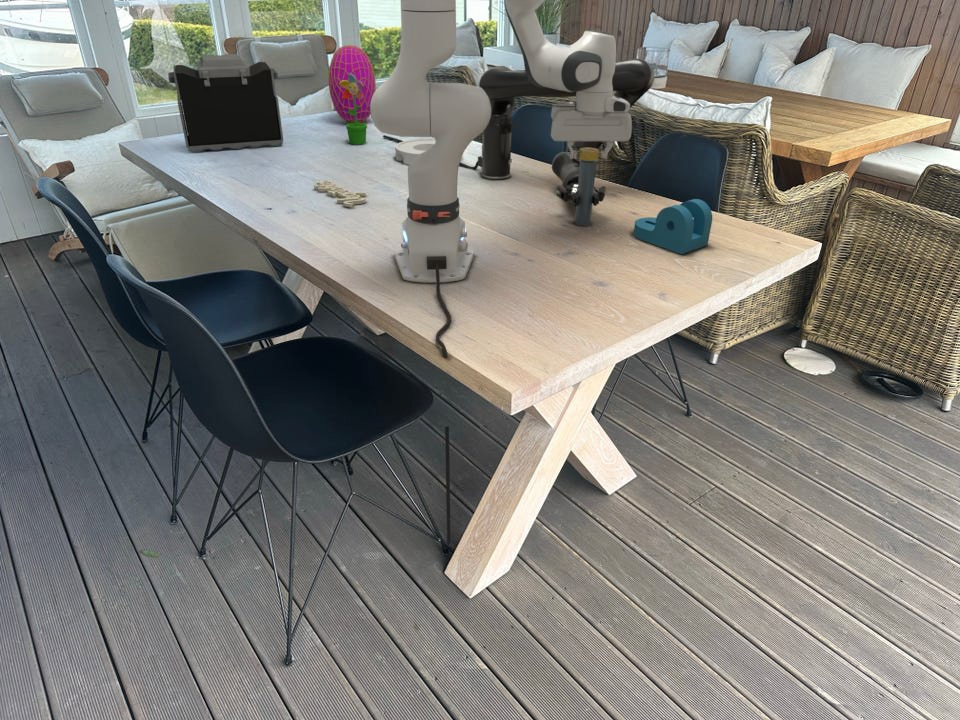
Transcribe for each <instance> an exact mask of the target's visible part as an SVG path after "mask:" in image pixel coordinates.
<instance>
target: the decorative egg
mask: <svg viewBox="0 0 960 720" xmlns="http://www.w3.org/2000/svg"><path fill="white" fill-rule="evenodd" d="M348 73H350V74H352V75H354V76H355V78H356V83H357V82H358V81H361V82H362V84H363V89H361V90H360V91H361V92H362V93H363V98H362V100H359V99H358V98H357V97H356V95H355V103H356V106H359V109H358V110H356V116H357V123H364V122H365V121H366V120H368V118H369V117H371V113H370V104H371V99H372V96H373V94H374V93H375V91H376V90H377V83H376V82H377V81H376V75H375V71H374V68H373V63H372V62H371V60H370V57H369V56H368V54H367V53H366V51H365V50H363V48H361V47H359V46H357V45H353V44H352V45H351V44H348V45H343V46H340V47H338V48H337V49H336V51H334V53H333V56H332V57H331V61H330V63H329V69H328V90H329V96H330V99H331V103H332V105H333V108H334V110H335V111H336V113H337V114H338V116H339V118H341V119H342V120H343V121H344V122H346V123H348V124H349V123H355V115H351V114H349V112H348V111H349V110H354V100H353V95H352V96H351V97H350V98H348V99H341V97H342V94H343V93H344V91H345V90H347V89H346V88H343V87H342V86H341V85H340V84H339V83H340V82H341V81H342V80H346V81H349V78H348Z"/></svg>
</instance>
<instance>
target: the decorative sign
mask: <svg viewBox="0 0 960 720" xmlns="http://www.w3.org/2000/svg"><path fill="white" fill-rule="evenodd" d="M313 188H314V190H318V192H319V193H325V192H326V193H327V195H328V196H332V197H333V198H335V197H339V198H336V202H337V204H343V206H344V207H346V208H351V209H352V208H354V205H361V204H365V203H366V198H365V197H366V191H351V190H348V188H346V187H343V186H340V185H339V184H337V183H335V182H333V181H331V180H328V179H325V180H322V181H320V180H318V181H317V180H316V184H315V185H313Z"/></svg>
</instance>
